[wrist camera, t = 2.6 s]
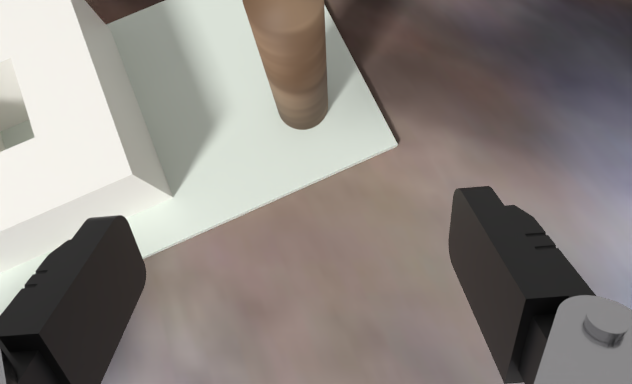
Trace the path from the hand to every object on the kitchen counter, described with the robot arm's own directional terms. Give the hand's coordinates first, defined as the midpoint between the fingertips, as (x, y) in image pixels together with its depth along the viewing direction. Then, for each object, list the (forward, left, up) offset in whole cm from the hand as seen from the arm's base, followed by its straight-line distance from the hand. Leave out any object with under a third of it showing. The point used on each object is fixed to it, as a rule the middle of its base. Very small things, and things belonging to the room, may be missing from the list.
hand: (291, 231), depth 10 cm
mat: (+6, -12, -13) cm, 19 cm away
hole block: (+12, -13, -13) cm, 22 cm away
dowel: (-3, -9, -13) cm, 16 cm away
